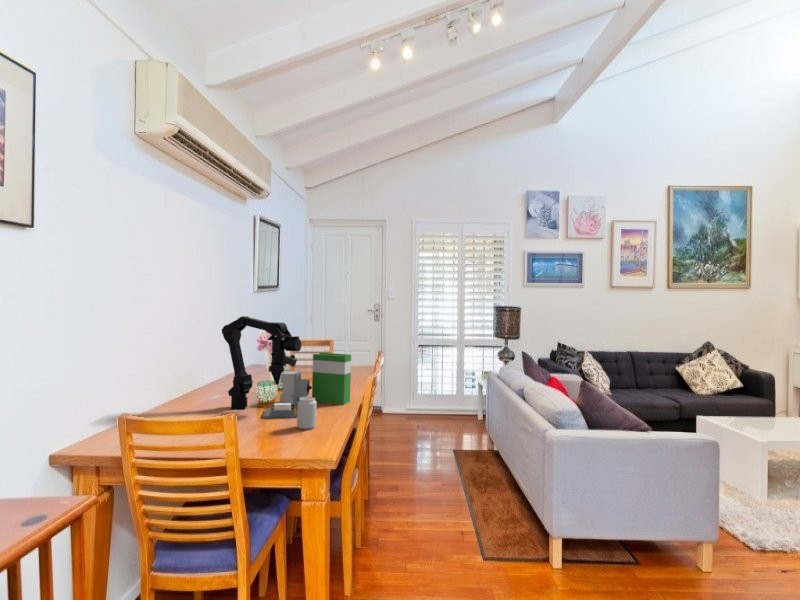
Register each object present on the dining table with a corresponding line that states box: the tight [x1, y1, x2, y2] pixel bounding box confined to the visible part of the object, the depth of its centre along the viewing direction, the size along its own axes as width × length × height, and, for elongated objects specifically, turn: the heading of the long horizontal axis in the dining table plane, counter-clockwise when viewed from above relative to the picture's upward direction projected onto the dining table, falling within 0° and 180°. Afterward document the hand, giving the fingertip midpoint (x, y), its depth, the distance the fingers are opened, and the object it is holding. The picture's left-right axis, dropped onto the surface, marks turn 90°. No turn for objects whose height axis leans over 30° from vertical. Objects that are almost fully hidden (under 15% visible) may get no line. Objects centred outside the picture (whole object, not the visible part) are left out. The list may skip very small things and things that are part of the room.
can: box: [296, 396, 318, 431], centre depth 181 cm, size 8×8×12 cm
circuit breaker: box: [279, 370, 312, 406], centre depth 223 cm, size 8×14×15 cm, turn 89°
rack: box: [262, 403, 298, 419], centre depth 201 cm, size 16×13×3 cm
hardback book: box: [311, 352, 352, 406], centre depth 228 cm, size 18×7×24 cm, turn 72°
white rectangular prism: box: [273, 402, 291, 410], centre depth 198 cm, size 7×3×4 cm, turn 99°
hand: (277, 384), depth 204 cm, fingers closed
